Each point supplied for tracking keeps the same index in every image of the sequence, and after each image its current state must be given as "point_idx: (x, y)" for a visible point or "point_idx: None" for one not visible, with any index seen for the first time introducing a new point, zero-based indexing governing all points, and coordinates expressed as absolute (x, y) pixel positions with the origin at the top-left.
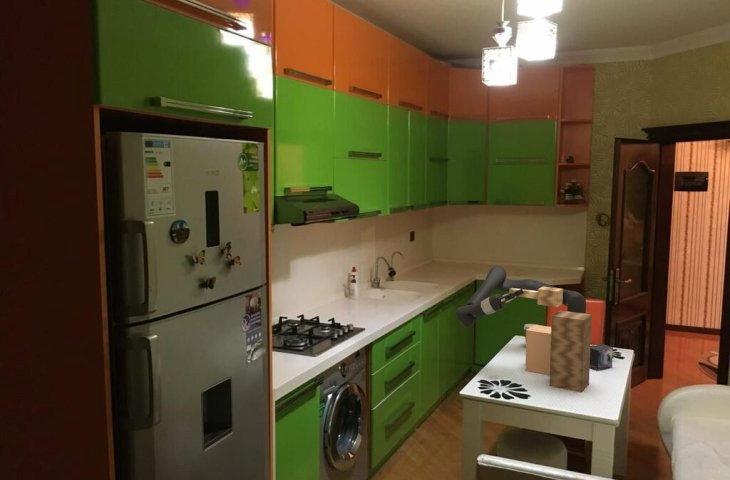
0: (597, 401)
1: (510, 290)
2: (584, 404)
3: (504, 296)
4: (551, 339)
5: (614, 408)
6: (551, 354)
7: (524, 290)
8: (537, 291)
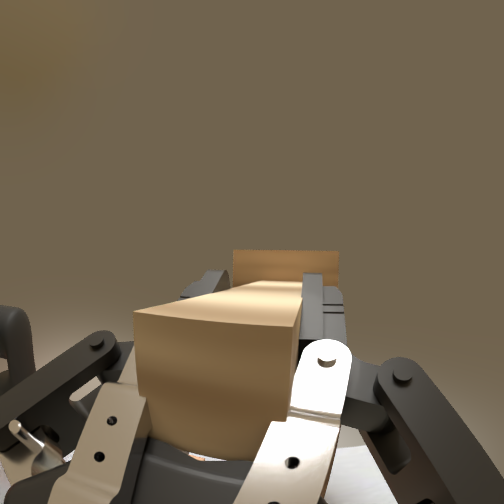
0: (346, 465)
1: (294, 353)
2: (377, 473)
3: (487, 455)
4: (334, 452)
5: (360, 446)
6: (325, 488)
7: (283, 290)
8: (271, 282)
